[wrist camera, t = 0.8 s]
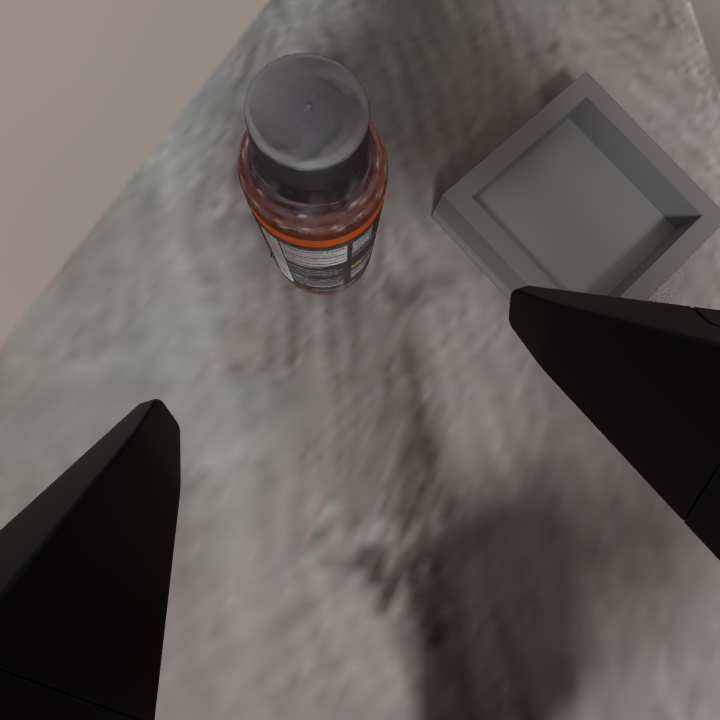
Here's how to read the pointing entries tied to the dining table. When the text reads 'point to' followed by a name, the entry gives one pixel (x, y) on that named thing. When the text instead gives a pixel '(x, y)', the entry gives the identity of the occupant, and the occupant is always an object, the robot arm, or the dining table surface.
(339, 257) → the supplement bottle
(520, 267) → the tray
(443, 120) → the dining table surface
